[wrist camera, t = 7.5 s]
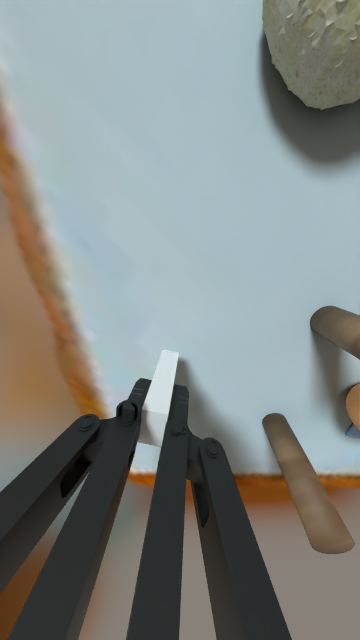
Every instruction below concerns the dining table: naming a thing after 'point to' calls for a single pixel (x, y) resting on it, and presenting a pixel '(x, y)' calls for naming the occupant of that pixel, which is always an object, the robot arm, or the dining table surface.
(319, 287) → the dining table surface
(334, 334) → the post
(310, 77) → the sea urchin shell
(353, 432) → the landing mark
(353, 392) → the ball
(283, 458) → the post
